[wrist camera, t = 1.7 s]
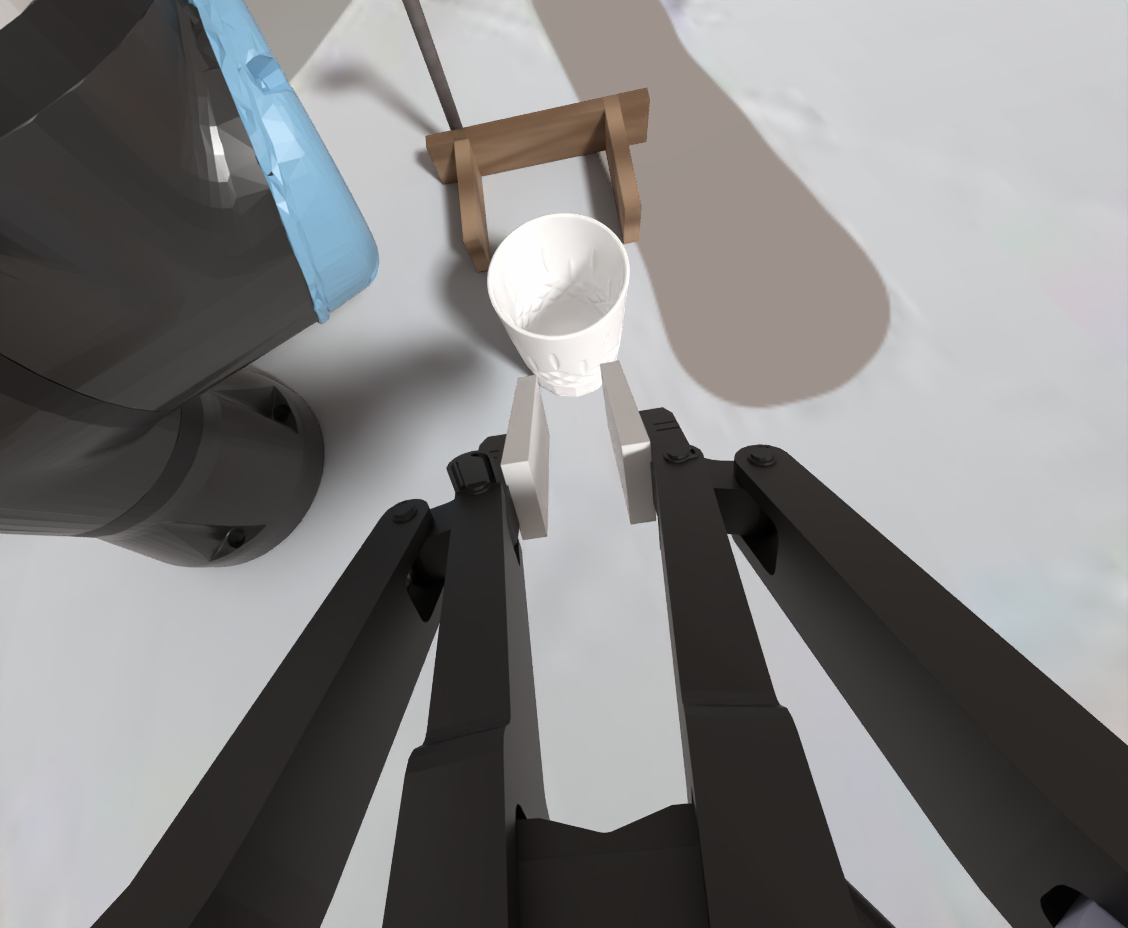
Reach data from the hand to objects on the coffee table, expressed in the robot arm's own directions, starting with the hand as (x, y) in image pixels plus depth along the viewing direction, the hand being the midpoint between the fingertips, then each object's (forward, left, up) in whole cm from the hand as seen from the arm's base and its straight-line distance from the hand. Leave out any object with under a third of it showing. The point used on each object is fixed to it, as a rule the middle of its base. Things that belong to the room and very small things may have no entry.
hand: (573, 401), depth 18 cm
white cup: (-3, +9, -14) cm, 17 cm away
